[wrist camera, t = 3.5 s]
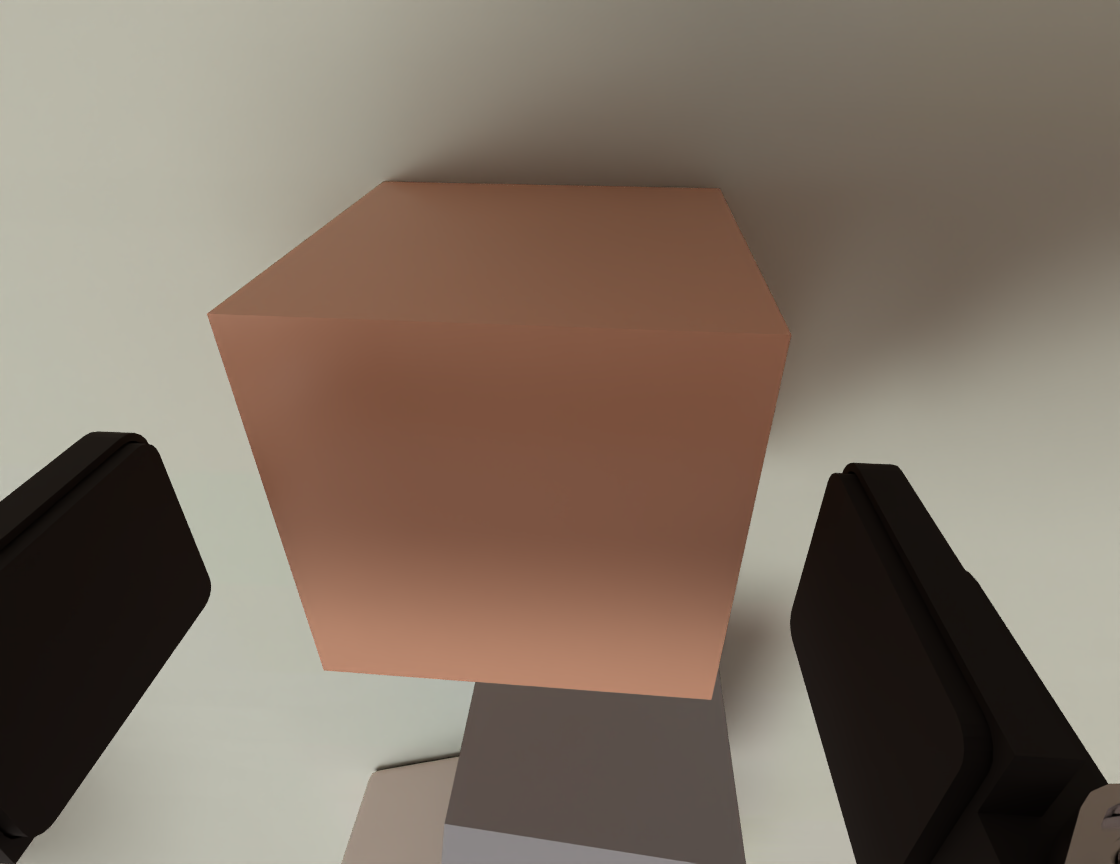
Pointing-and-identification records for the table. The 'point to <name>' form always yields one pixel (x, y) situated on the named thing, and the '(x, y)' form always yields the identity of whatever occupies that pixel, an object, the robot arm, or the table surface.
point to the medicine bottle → (403, 815)
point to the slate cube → (592, 780)
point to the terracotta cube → (513, 429)
